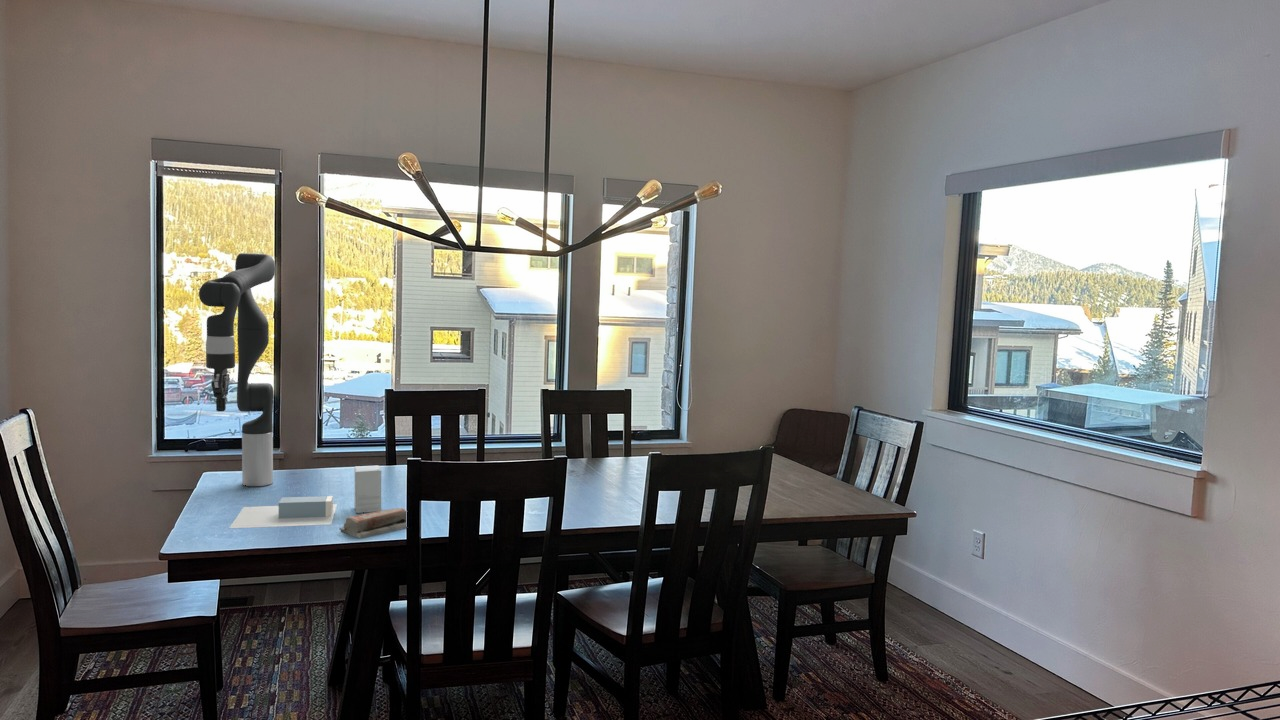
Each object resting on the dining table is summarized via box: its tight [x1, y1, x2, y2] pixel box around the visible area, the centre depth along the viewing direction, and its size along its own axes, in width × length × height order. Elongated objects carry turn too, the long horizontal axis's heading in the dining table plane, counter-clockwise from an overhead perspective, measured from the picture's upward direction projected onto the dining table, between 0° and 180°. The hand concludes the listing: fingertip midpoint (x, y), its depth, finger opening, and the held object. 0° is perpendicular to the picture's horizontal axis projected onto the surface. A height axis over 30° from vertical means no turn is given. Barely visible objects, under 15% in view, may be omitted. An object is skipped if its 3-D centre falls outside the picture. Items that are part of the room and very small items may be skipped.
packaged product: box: [339, 507, 407, 539], centre depth 234 cm, size 18×5×10 cm
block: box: [278, 495, 334, 519], centre depth 243 cm, size 6×4×14 cm
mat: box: [228, 503, 338, 529], centre depth 241 cm, size 22×26×1 cm
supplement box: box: [354, 464, 382, 514], centre depth 252 cm, size 7×7×13 cm
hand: (221, 410), depth 245 cm, fingers closed
